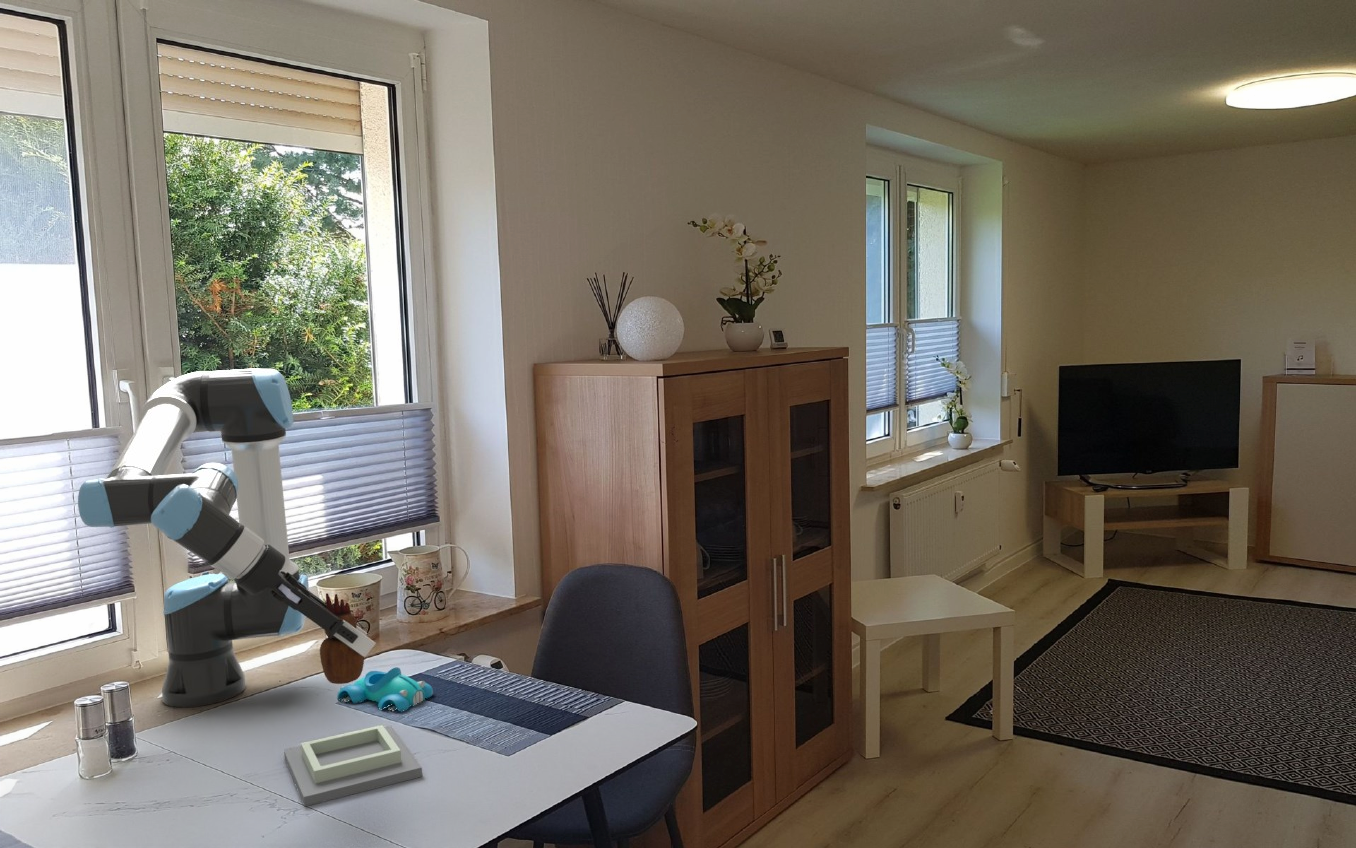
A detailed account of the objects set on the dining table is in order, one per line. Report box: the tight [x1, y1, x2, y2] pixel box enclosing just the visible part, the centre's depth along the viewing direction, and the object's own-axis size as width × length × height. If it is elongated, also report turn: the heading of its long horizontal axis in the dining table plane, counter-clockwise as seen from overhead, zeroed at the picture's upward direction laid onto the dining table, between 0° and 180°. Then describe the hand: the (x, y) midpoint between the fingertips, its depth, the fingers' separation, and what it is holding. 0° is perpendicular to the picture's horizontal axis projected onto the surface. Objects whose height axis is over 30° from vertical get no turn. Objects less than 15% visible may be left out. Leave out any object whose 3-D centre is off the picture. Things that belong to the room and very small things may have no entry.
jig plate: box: [283, 724, 423, 807], centre depth 166 cm, size 20×18×4 cm
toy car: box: [336, 667, 434, 712], centre depth 197 cm, size 11×18×7 cm, turn 63°
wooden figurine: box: [319, 593, 365, 685], centre depth 164 cm, size 7×6×15 cm
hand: (365, 644), depth 166 cm, fingers closed on wooden figurine, 5 cm apart
